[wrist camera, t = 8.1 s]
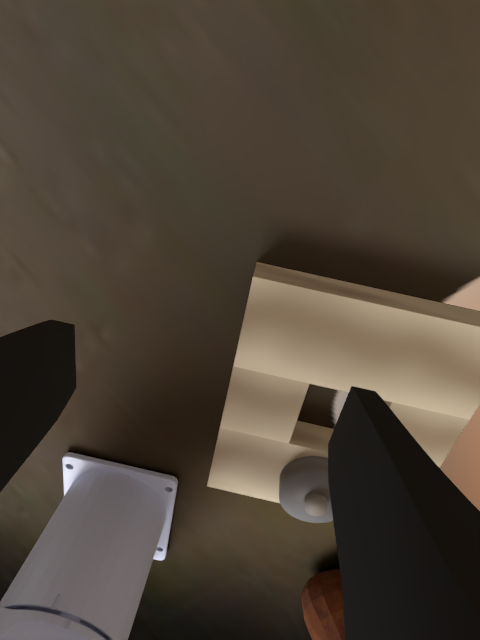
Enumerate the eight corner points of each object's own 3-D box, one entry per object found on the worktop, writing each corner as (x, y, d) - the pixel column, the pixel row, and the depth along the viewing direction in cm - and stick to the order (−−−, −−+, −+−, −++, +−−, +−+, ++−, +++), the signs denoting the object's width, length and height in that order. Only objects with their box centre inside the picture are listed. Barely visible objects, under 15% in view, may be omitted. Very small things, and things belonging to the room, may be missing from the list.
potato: (298, 539, 28) (301, 679, 21) (468, 546, 26) (533, 702, 19) (302, 599, 31) (306, 736, 24) (453, 608, 30) (504, 760, 23)
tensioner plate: (392, 502, 25) (407, 560, 22) (212, 460, 25) (200, 512, 22) (500, 315, 18) (546, 358, 15) (256, 261, 19) (249, 292, 15)
